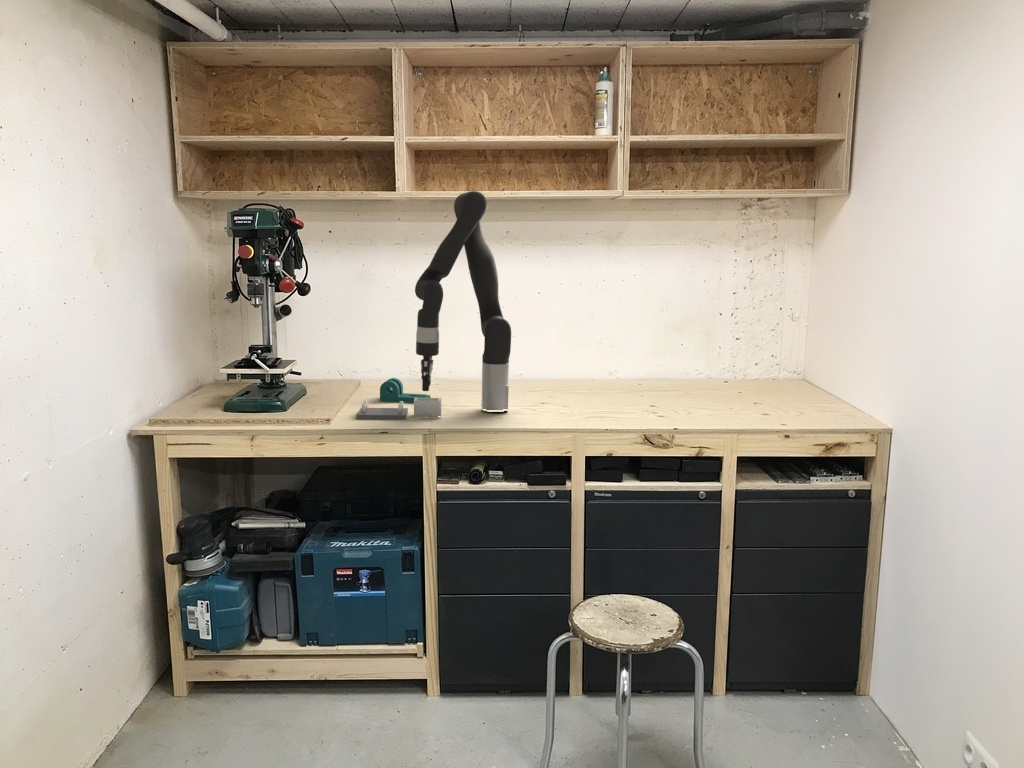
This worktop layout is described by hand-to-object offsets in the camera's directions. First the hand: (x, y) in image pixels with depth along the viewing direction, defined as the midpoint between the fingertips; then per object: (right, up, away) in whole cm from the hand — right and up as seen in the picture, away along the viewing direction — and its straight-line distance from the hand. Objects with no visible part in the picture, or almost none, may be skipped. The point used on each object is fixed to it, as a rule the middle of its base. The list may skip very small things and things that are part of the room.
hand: (426, 388), depth 230 cm
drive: (0, -10, +2) cm, 10 cm away
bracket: (-10, -5, +24) cm, 26 cm away
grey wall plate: (-15, -9, +1) cm, 17 cm away
